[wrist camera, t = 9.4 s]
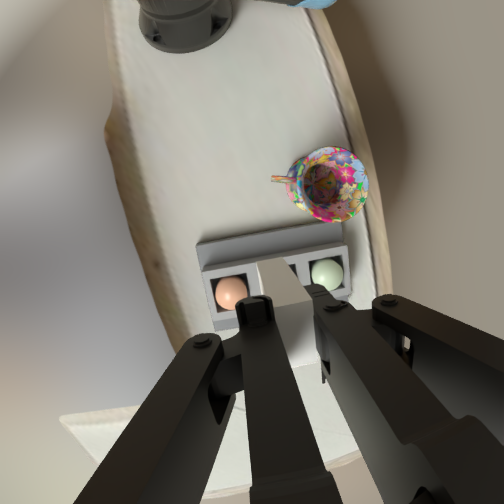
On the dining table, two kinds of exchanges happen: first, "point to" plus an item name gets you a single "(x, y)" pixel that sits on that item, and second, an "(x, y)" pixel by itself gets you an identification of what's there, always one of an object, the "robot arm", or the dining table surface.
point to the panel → (268, 247)
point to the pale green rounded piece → (326, 273)
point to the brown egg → (230, 291)
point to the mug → (327, 184)
